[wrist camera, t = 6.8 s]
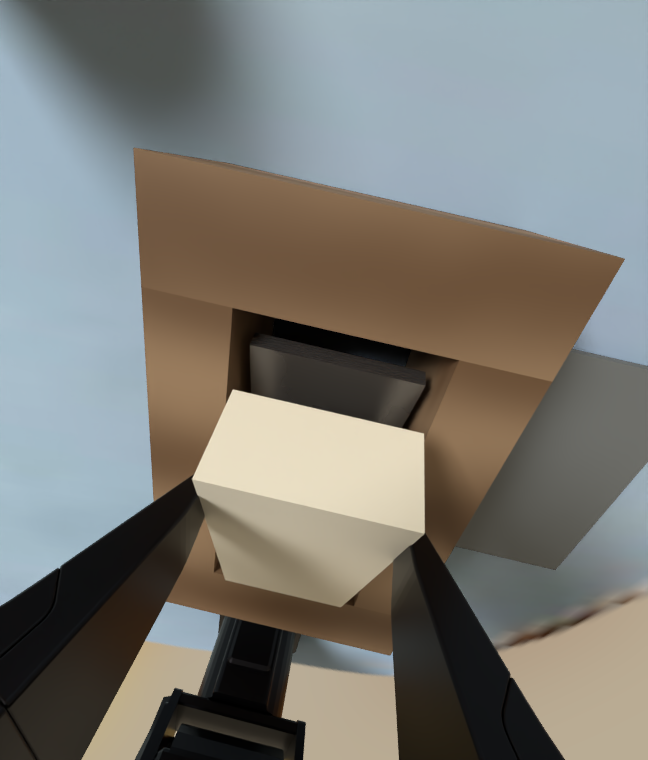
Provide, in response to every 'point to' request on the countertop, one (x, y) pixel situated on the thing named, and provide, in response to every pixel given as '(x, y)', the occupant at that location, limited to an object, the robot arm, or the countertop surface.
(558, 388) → the slate rubber mat
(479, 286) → the walnut frame
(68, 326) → the countertop surface
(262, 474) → the cream tile
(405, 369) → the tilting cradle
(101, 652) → the robot arm
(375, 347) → the countertop surface
